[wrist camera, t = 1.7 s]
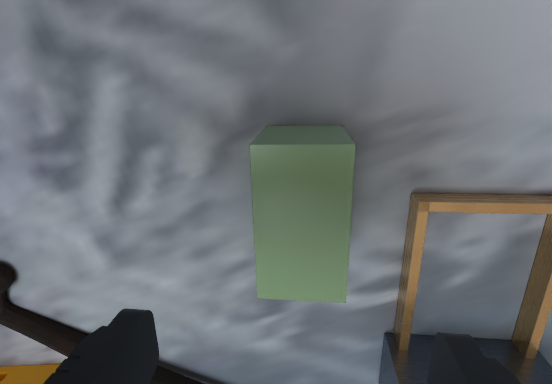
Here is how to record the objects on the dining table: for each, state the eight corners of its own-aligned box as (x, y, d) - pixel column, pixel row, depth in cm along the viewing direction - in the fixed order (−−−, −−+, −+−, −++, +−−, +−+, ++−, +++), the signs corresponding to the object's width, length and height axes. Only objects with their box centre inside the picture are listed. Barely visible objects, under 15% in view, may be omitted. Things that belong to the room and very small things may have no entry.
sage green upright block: (267, 125, 19) (249, 144, 14) (342, 124, 19) (355, 144, 13) (271, 242, 22) (257, 298, 16) (336, 244, 21) (345, 302, 16)
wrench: (16, 242, 27) (342, 392, 26) (15, 286, 29) (317, 427, 28) (-55, 280, 22) (343, 466, 21) (-50, 329, 24) (312, 501, 23)
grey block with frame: (400, 192, 20) (445, 250, 13) (576, 195, 19) (721, 258, 12) (378, 382, 25) (402, 491, 18) (514, 393, 24) (591, 512, 17)
